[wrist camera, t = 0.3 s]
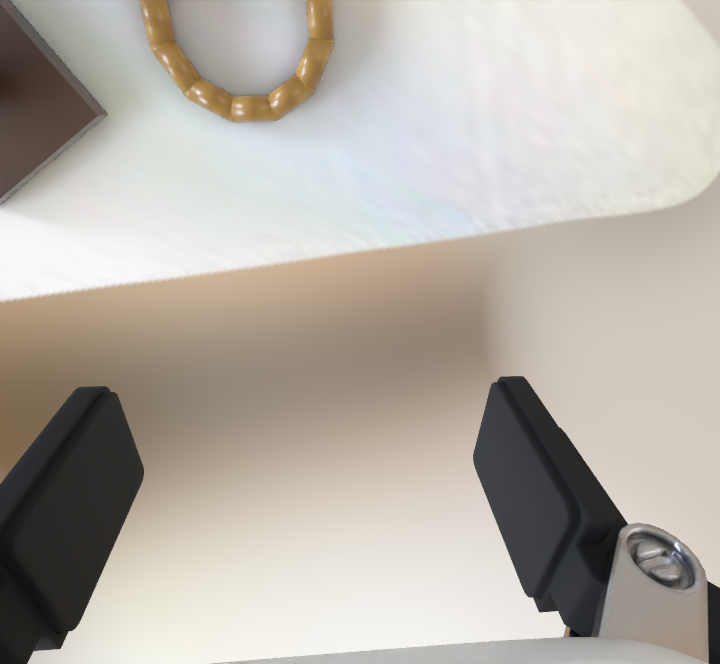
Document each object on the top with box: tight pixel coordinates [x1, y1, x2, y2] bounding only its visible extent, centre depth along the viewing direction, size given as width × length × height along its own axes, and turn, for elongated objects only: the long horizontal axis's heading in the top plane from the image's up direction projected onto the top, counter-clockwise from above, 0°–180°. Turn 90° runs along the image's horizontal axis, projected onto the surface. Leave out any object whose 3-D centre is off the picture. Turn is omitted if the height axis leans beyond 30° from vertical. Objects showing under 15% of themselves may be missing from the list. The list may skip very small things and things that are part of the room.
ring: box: [139, 0, 334, 123], centre depth 19 cm, size 9×9×1 cm
